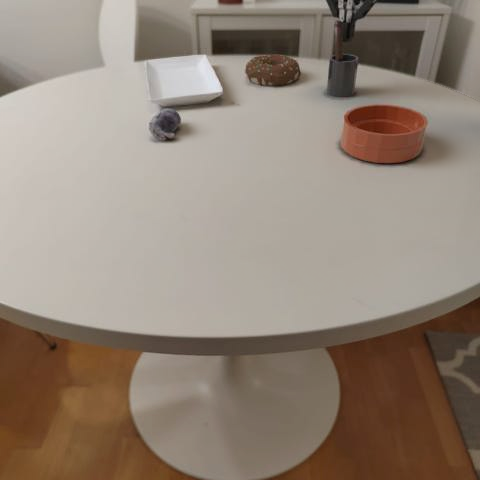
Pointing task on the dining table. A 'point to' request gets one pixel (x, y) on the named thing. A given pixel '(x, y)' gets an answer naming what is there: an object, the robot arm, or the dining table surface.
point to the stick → (338, 41)
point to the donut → (272, 70)
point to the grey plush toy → (164, 124)
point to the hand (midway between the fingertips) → (345, 41)
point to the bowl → (383, 133)
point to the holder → (342, 76)
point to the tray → (181, 81)
